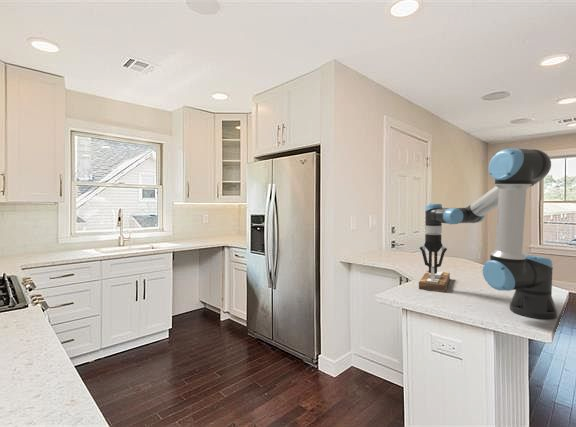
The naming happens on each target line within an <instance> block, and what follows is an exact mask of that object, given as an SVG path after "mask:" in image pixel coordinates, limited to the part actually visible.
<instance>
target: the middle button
mask: <svg viewBox="0 0 576 427" xmlns="http://www.w3.org/2000/svg"><path fill="white" fill-rule="evenodd" d="M429 278H431V273H430V274H429ZM435 279H441V273H437V274H435Z"/></svg>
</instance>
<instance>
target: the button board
mask: <svg viewBox="0 0 576 427" xmlns="http://www.w3.org/2000/svg"><path fill="white" fill-rule="evenodd" d="M442 272H443V275H441V279H439V283H430V282H427V279H428V278H429V274H430V273H429V270H426V272H425V273H424V274H423V276H422V277H421V279H420V280H419V281H418V290H424V291H432V292H438V293H439V292H441V293H446V291H447V287H448V285H449V282H450V278H451V276H450V274H451V273H450V272H444V271H442ZM430 279H431V278H430Z"/></svg>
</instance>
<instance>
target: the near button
mask: <svg viewBox="0 0 576 427" xmlns="http://www.w3.org/2000/svg"><path fill="white" fill-rule="evenodd" d="M427 282H430V283H439V279H435V280H431V279H430V278H428V279H427Z"/></svg>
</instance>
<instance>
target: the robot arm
mask: <svg viewBox="0 0 576 427" xmlns="http://www.w3.org/2000/svg"><path fill="white" fill-rule="evenodd" d="M551 168H552V160H551V158H550V156H549V155H548V154H547V153H546V152H544V151H542V150H539V149H531V148H530V149H529V148H528V149H527V148H517V147H516V148H513V147H512V148H506V149H505V148H504V149H501V150H499V151H498V152H496V153H495V155H493V156H492V158H491V159H490V161H489V163H488V172H489V175H490V177H491V178H493V179H494V186H493V187H492V188H491V189H490V190H488V191H487V192H486V193H484V194H482V196H480V197H479V198H478V199H476V200H475V201H473V202H472V203H471V204H469V205H468V206H466V207H443V205H442V204H441V203H427V204H426V205H425V211H424V212H425V213H424V214H425V227H424V228H425V233H426V234H425V237H424V238H425V240H424V241H425V242H424V244H423V245H422V246H419V249H420V252H421V253H422V259H423V262H424V266H427V267H428V271H429V273H431V280H435V274H437V271H438V268H439V267H441V266H442V263H443V260H444V256H445V254H446V252H447V250H448V248H447V247H445V246H443V243H442V229H443V228H442V225H443V224H448V225H458V224H476V223H480V222H483V219H484V218H485V215H486V214H488V213H489V212H491V211H492V210H494V209H496V208H497V219H496V232H495V233H496V234H495V235H496V236H495V249H494V250H493V251H492V252H490V256H489V260H488V261H486V262H485V263H484V264H483V266H482V276H483V279H484V280H485V282H486V283H487V284H488V285H489V286H490V287H491V288H492V289H494V290H497V291H499V292H500V291H506V292H509V291H510V292H511V291H515V292H514V293H513V296H512V298H511V301H510V303H509V310H510V311H511V312H513V313H515V314H517V315H521V316H524V317H528V318H533V319H541V320H542V319H543V320H551V319H556V318H557V317H558V310H557V308H556V307H557V306H556V304H555V301H554V299H553V295H552V292H553V291H552V290H553V289H552V288H553V270H554V267H553V261H552V259H551V258H549V257H544V256H540V255H539V256H537V255H531V254H525V253H523V247H524V246H523V244H524V242H523V241H524V231H525V230H524V229H525V219H526V218H525V216H526V204H527V203H526V200H527V190H528V189H529V188H531V187H533V186H534V185H536V184H538V183H539V182H541V181H542V180H543V179H544V178H545V177H546V176H547V175H548V174H549V173H550V171H551ZM426 250H427V251H428V258H427V253H426ZM440 250H441V253H440V254H441V255H440V258H439V261H438V253H439V251H440ZM433 254H434V256H433ZM433 258H434V261H433ZM432 264H434V265H432Z"/></svg>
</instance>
